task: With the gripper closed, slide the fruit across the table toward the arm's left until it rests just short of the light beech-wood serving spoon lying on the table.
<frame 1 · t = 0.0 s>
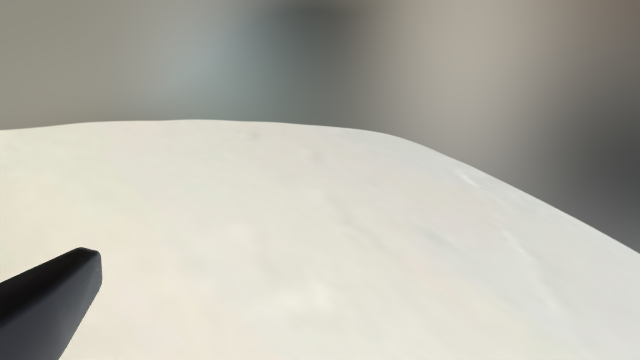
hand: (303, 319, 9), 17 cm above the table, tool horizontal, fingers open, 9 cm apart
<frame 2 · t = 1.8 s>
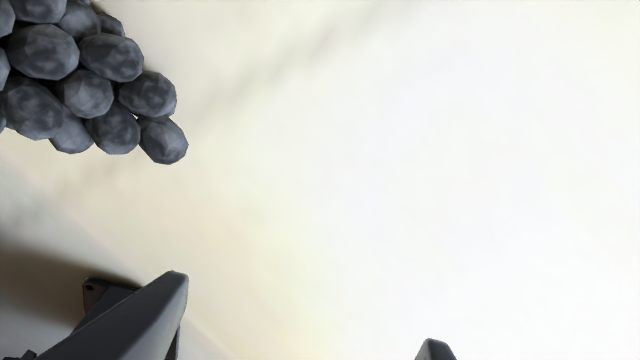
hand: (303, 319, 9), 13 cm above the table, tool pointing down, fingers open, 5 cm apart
fruit: (74, 33, 21), on the table
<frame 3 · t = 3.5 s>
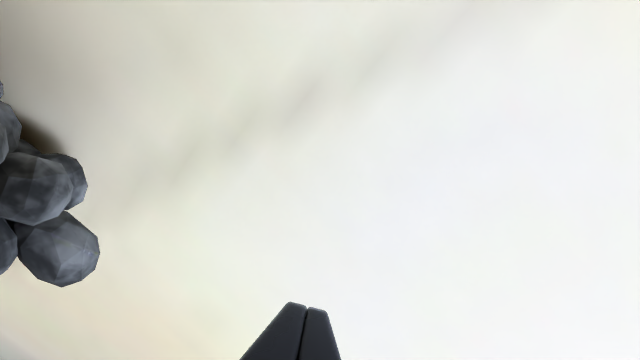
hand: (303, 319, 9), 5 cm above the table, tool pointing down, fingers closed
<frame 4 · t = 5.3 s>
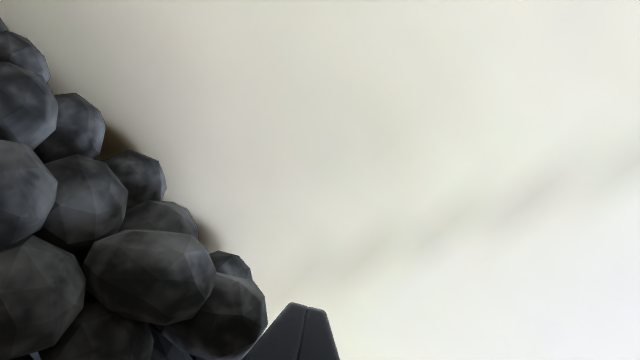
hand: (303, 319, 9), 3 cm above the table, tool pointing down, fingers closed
fruit: (75, 166, 12), on the table, touching gripper
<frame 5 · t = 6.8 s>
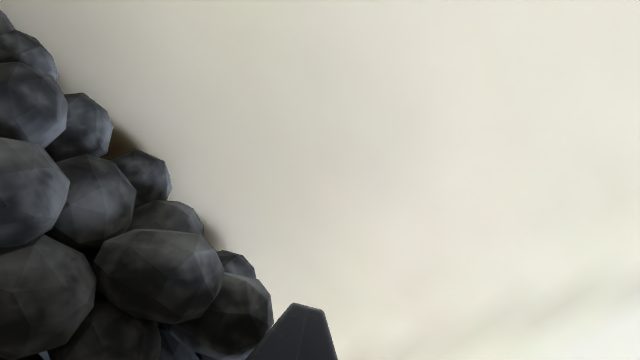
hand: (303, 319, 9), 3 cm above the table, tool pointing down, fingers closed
fruit: (79, 166, 12), on the table, touching gripper
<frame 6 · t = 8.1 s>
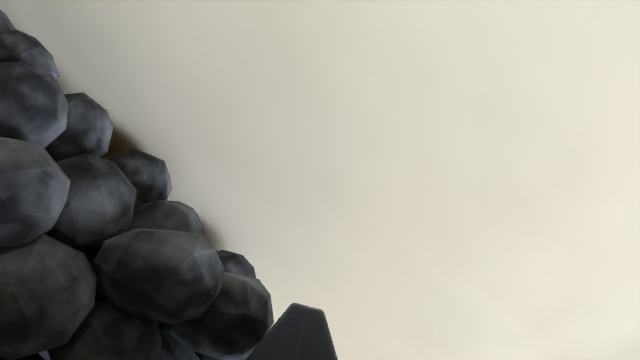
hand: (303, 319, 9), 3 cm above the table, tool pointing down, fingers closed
fruit: (79, 165, 12), on the table, touching gripper
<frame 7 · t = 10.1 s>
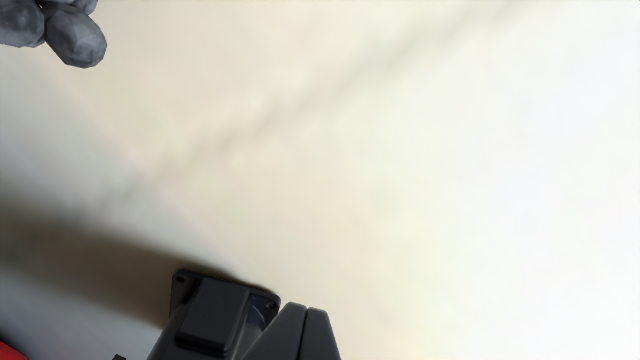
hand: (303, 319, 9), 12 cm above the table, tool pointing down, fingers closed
tomato: (7, 359, 34), on the table
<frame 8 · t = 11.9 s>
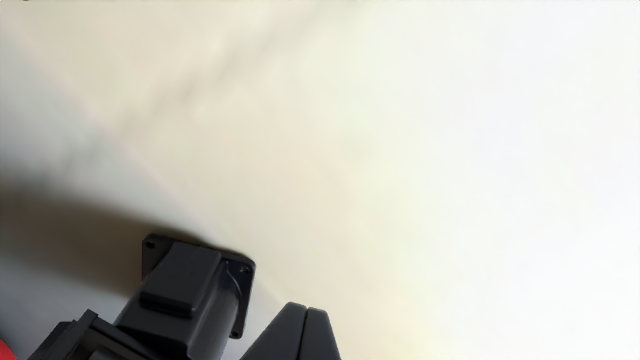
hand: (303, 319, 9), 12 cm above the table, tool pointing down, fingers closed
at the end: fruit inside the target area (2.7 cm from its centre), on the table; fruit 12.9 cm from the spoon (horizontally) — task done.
